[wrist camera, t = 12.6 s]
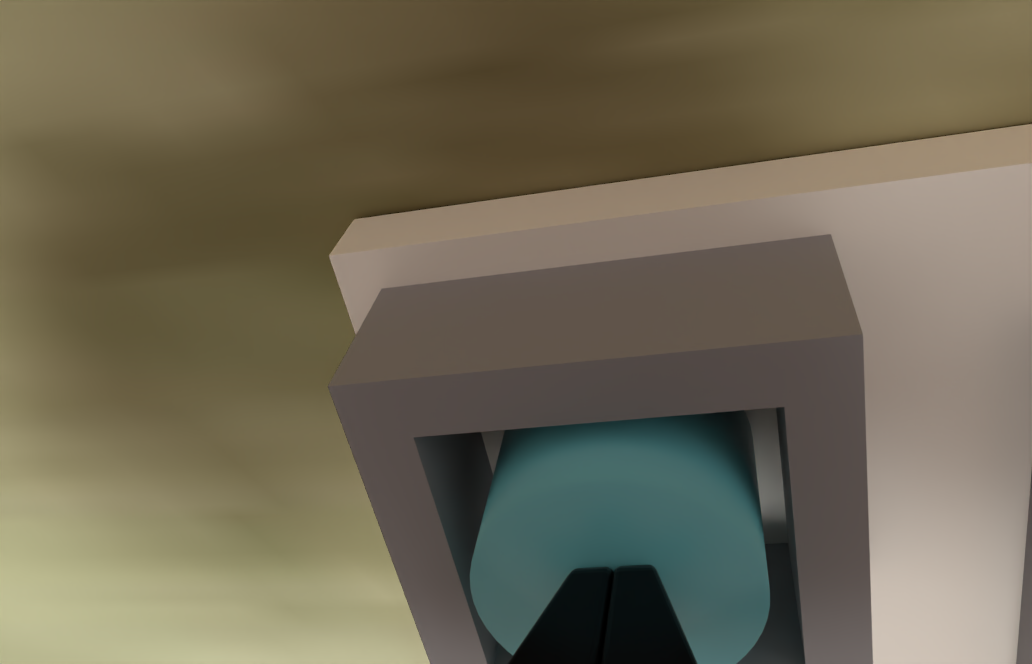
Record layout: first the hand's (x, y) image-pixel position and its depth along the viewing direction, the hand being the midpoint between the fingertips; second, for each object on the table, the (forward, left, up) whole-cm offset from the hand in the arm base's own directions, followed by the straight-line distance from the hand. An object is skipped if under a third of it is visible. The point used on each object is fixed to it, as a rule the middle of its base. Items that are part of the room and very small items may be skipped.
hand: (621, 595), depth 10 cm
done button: (0, 0, -2) cm, 2 cm away
